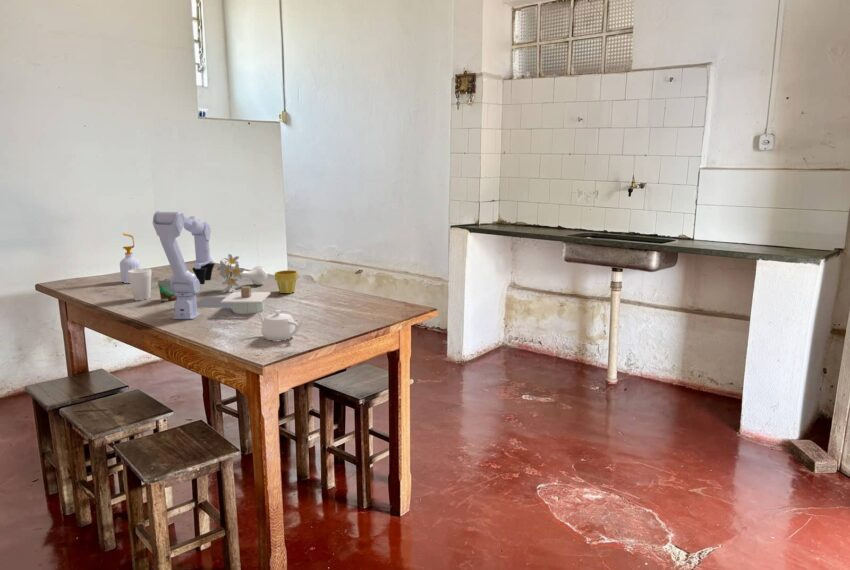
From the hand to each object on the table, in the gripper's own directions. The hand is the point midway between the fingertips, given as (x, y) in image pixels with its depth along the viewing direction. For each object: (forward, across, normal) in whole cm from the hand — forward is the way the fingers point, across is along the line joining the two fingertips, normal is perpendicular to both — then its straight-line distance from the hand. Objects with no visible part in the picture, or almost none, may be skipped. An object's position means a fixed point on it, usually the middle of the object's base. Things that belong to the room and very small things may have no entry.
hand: (204, 282), depth 263 cm
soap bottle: (+11, +47, +54) cm, 72 cm away
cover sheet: (+5, -8, -20) cm, 22 cm away
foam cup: (+11, +12, +33) cm, 37 cm away
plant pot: (+11, +25, -29) cm, 40 cm away
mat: (+10, +5, -3) cm, 12 cm away
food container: (+11, +10, +18) cm, 23 cm away
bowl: (+10, -8, -20) cm, 24 cm away
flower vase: (+11, +34, -6) cm, 36 cm away
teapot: (+11, -44, -41) cm, 61 cm away
